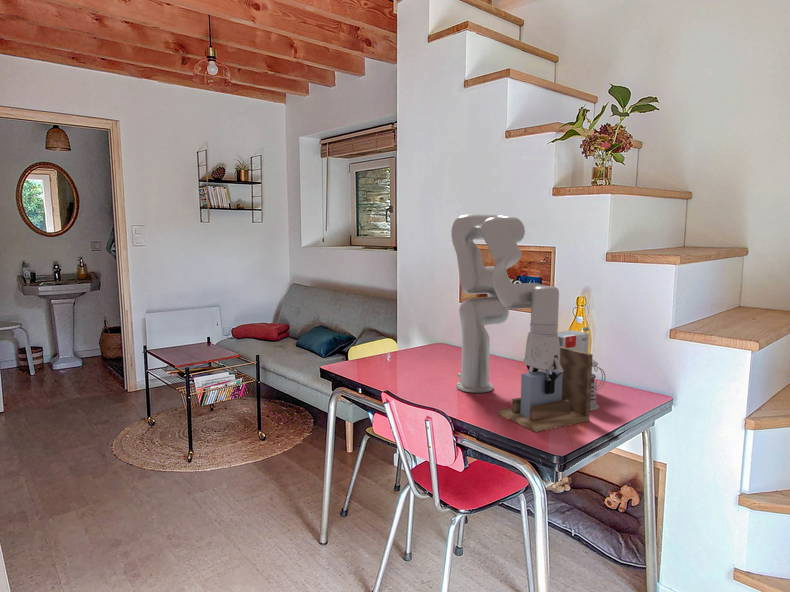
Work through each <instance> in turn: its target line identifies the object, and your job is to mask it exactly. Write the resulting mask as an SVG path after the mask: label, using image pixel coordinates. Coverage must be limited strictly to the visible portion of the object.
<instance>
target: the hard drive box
mask: <svg viewBox="0 0 790 592" xmlns="http://www.w3.org/2000/svg"><path fill="white" fill-rule="evenodd" d="M585 333H586V348H585ZM557 335H558V336H559V343H560V346H561V347H565V348H569V349H573V350H577V351H581V352H585V353H589V346H590V345H589V344H590V333H588V332H585V331H584V332H583V331H577V330H565V331H558V334H557ZM541 371H543V370H541Z"/></svg>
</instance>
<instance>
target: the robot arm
mask: <svg viewBox="0 0 790 592" xmlns="http://www.w3.org/2000/svg"><path fill="white" fill-rule="evenodd" d="M525 232H526V230H525V225H524V223H523V222H522V220H520V219H519V217H518V218H517V217H514V216H505V215H499V214H498V215H497V214H480V213H479V214H475V213H474V214H472V213H471V214H470V213H469V214H464V215H463V214H462V215H460V216H458V217H457V218H455V220H454V221H453V223H452V226H451V241H452V245H453V248H454V251H455V253H456V259H457V260H456V261H457V267H458V276H459V282H460V283H459V284H460V287H461V290H462V292H463V293H465V294H467V295H483V294H487V296H485V297H472V298H467V299H465V300H464V301H462V302H461V304H460V306H459V310H458V311H459V313H458V314H459V318H460V326H461V372H459V373H457V375H456V376H457V377H458V378H460V381H458V382H457V383H456V388H457V389H458V390H460V391H462V392H464V393H465V392H466V393H475V394H476V393H478V394H480V393H482V394H483V393H488V392H491V391H493V389H494V385H493V383H491V382H490V349H491V348H490V347H491V345H490V340H491V339H490V335H489V333H488V331H487V330H486V328H485V326H489V325H498V324H503V323H505V322H506V321H507V320H508V317H509V315H510V314H509V313H510V310H521V309H523V310H524V309H530V323H529V327H530V331H529V332H528V334H527V336H526V337H527V338H526V341H525V342H526V343H525V352H524V353H525V354H524V358H523V362H524V364H525V366H526V368H527V370H528V373H531V372H538V371H542V370H543V371H545V373H546V378H547V380H545V394H552V393H554V392H555V380H556V379H557V377H558V376H559V375H560V374H562V373H563V369H562V367H561V365H560V343H559V336H558V335H557V334H558V332H559V330H558V329H559V307H560V306H559V305H560V304H559V301H560V291H559V288H558V287H556V286H553V285H545V284H541V283H538V282H525V283H524V282H523V283H513V282H512V281H511V279H510V277H509V275H508V272H507V270H508V269H509V268H511V267H513V266H514V265H515V264H517V263H518V262H519V261H520V260H521V258H522V250H521V249H520V247H519V245H518V243H519V242H521V241H522V240H523V239H524V237H525V234H526V233H525ZM474 240H484V242H485V243H486V246H487V248H488V250H489V253H490V254H491V257H492V258H493V261H494V262H495V265H494V266H493V265H491V266H488V265H487V266H484V262H483V255H482V252H481V250H480V248H479V247H478V245H477V244H476V243H475V242H474ZM555 369H556V371H555ZM550 371H551V373H552V374H551V375H550Z"/></svg>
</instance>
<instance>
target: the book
mask: <svg viewBox="0 0 790 592" xmlns="http://www.w3.org/2000/svg"><path fill="white" fill-rule="evenodd" d="M555 371H556V370H555ZM551 374H552V373H551V371H550V375H551ZM562 378H563V373H562V374H560V375H559V376H558V377H557V379H556V380H555V392H554V393H552V394H545V380H547V378H546V373H545V371H542V370H539V371H538V372H531V373H529V372H526V373H521V379H520V380H521V381H520V382H521V383H520V398H521V408H520V415H523V416H525V417H527V418H530V406H535V405H540V404H546V403H551V402H556V401H562Z"/></svg>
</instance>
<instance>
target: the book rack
mask: <svg viewBox="0 0 790 592" xmlns="http://www.w3.org/2000/svg"><path fill="white" fill-rule="evenodd" d="M592 359H593V354H592V353H589V352H588V353H585V352H581V351H577V350H573V349H569V348H565V347H561V346H560V365H561V367H562V369H563V378H562V401H556V402H551V403H546V404H540V405H535V406H530V418H527V417H525V416H523V415H520V408H521V397H517V398H512V400H511V403H512V404H511V407H508V408H507V407H506V408H502V409H498V415H499V416H500V415H502V416H501V417H503V416H504V417H503V418H505V417H506V418H505V419H507V418H509V419H511V420H513V421H515V422H517V423H519V424H521V425H520V426H522V425H523V426H522V427H524V426H525V427H524V428H526V427H527V428H526V429H528V428H529V429H528V430H530V429H531V430H530V431H532V430H533V431H532V432H534V431H535V433H540V432H539V431H541V432H543V431H542V430H545V431H547V430H546V429H550V430H552V429H551V428H554V429H556V428H555V427H559V428H561V427H560V426H564V427H566V426H565V425H568V426H571V425H570V424H573V425H576V423H577V424H582V423H586V422H589V421H590V419H591V418H590V417H591V410H590V400H591V378H592V374H593V373H592V372H593V367H592ZM555 370H556V369H555ZM509 419H508V420H509ZM511 420H510V421H511ZM513 421H512V422H513ZM515 422H514V423H515ZM581 422H582V423H581ZM517 423H516V424H517ZM519 424H518V425H519Z"/></svg>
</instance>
